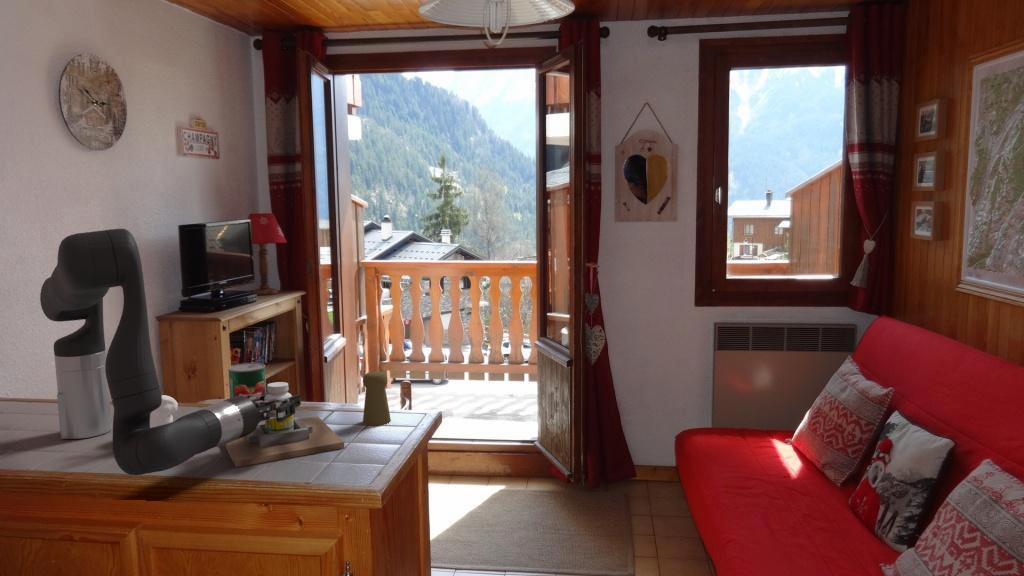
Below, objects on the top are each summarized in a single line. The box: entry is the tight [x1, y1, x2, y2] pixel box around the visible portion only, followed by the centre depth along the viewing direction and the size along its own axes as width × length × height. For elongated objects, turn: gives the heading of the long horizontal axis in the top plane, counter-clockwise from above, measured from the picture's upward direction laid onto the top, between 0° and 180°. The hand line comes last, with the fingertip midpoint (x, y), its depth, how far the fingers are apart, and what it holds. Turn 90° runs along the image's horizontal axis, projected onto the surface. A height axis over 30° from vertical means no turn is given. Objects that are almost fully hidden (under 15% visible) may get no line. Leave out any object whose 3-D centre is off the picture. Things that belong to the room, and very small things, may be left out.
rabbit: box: [150, 394, 179, 428], centre depth 147 cm, size 12×9×12 cm
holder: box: [224, 415, 345, 468], centre depth 145 cm, size 20×20×3 cm
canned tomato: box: [227, 362, 267, 398], centre depth 165 cm, size 8×8×11 cm
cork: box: [362, 371, 392, 427], centre depth 158 cm, size 6×6×11 cm
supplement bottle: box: [264, 381, 294, 434], centre depth 145 cm, size 5×5×10 cm
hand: (286, 398), depth 147 cm, fingers closed on supplement bottle, 5 cm apart
